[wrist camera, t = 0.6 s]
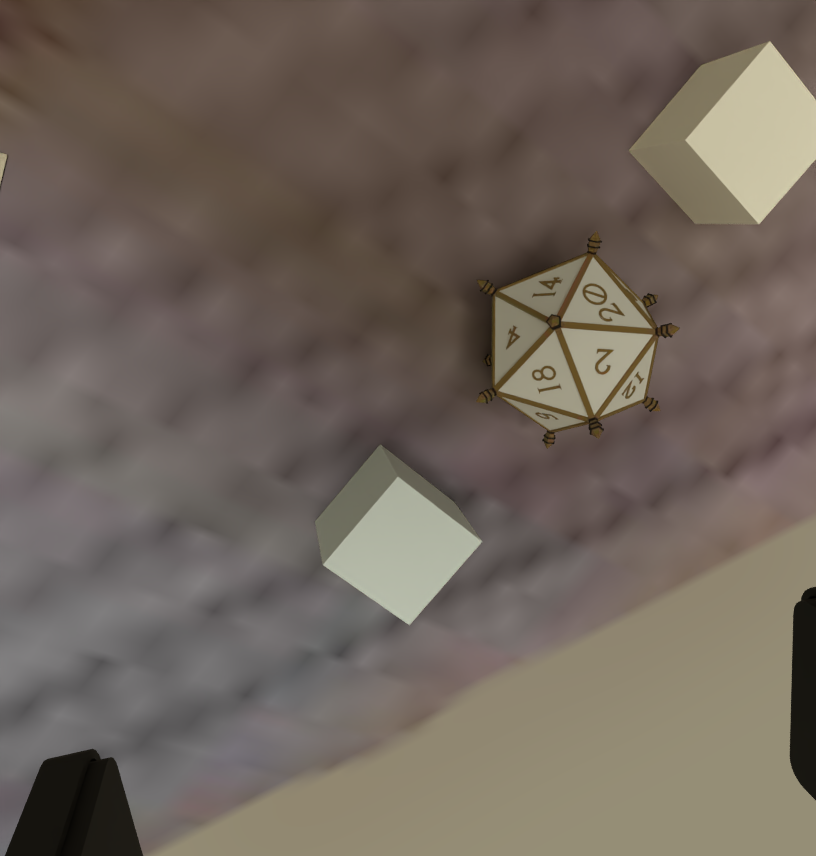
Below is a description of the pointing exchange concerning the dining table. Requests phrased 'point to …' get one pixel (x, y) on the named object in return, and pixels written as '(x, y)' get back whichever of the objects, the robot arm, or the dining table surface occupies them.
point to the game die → (572, 345)
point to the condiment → (2, 164)
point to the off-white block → (732, 138)
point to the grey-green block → (394, 535)
